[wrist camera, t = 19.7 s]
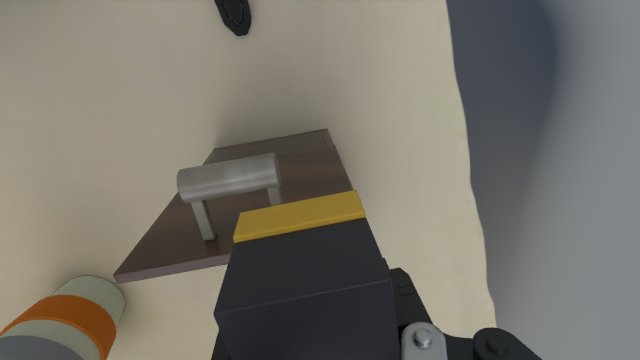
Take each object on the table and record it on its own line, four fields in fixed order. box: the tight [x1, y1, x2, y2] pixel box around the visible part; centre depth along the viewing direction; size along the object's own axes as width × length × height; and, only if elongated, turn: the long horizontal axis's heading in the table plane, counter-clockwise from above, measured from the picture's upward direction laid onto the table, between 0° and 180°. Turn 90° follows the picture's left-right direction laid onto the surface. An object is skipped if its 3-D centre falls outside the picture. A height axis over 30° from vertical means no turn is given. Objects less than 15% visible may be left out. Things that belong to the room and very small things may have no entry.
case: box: [202, 129, 333, 166], centre depth 42 cm, size 17×15×8 cm
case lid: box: [113, 144, 353, 284], centre depth 26 cm, size 17×15×5 cm
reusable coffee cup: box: [0, 276, 125, 360], centre depth 43 cm, size 13×13×15 cm
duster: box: [214, 190, 401, 360], centre depth 12 cm, size 8×4×5 cm, turn 11°
